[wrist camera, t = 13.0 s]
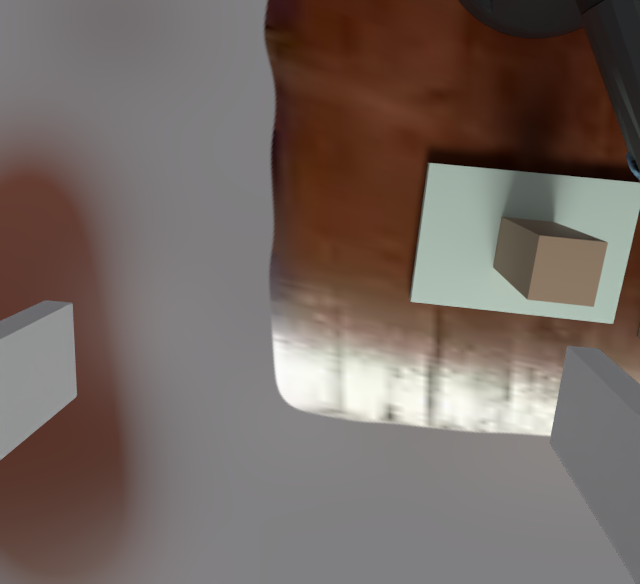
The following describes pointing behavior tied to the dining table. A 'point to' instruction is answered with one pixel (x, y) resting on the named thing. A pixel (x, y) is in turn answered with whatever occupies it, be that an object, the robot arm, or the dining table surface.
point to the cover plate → (477, 229)
